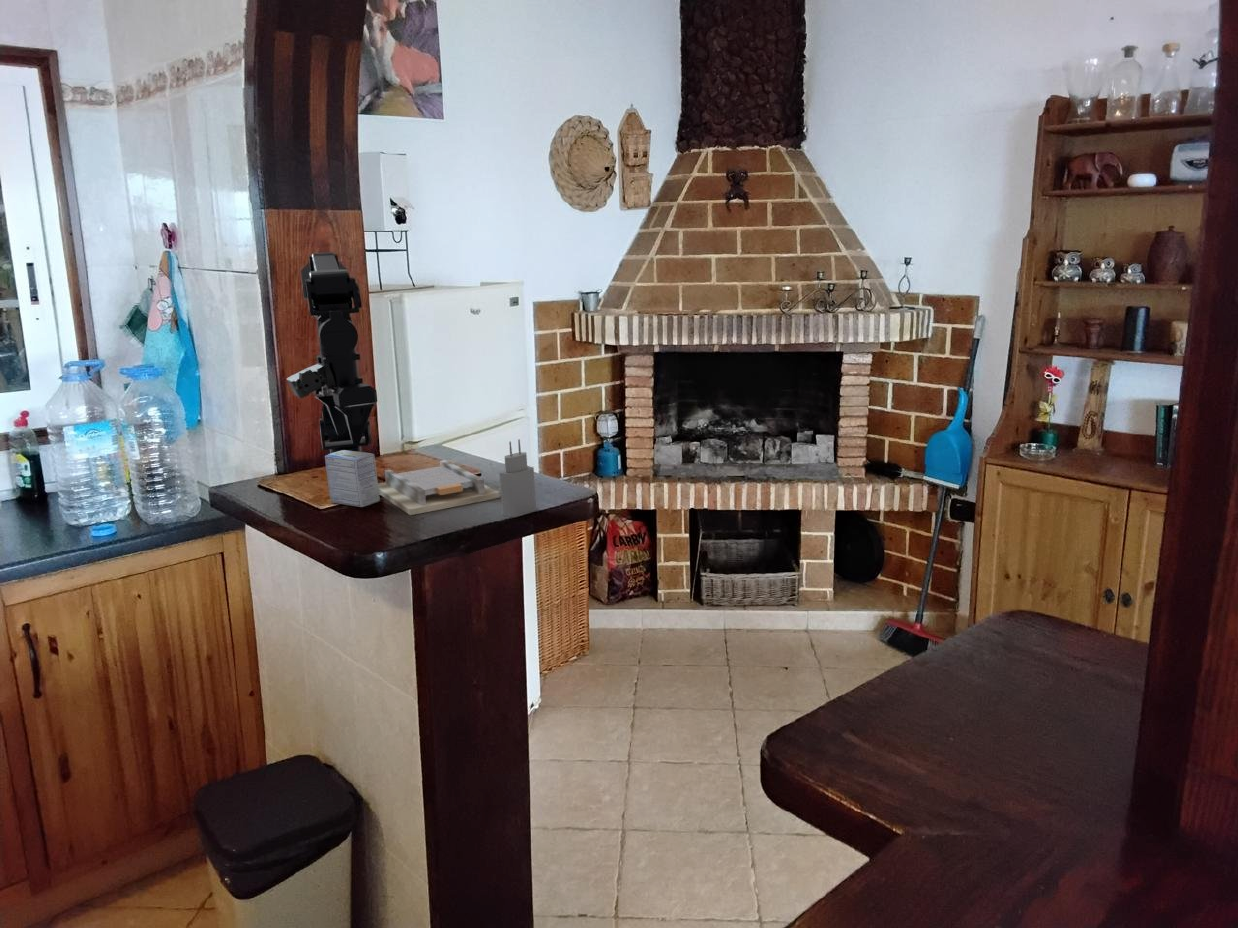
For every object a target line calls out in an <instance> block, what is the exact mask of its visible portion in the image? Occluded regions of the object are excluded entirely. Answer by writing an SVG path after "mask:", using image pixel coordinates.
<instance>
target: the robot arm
mask: <svg viewBox="0 0 1238 928" xmlns="http://www.w3.org/2000/svg"><path fill="white" fill-rule="evenodd" d="M338 257H339V256H338V253H335V252H313V253H312V254H308V261H309V262H308V263H307V264H305V265H304V266H303V268H301V269H300V279H301V289H302V296H303V300H307V306H308V311H309V316H310V317H314V319H316V328H317V336H318V337H317V338H318V343H319V344H318V346H319V352H320V354H317V356H316V357H315V360H316V364H314V365H311V366H310V367H307V368H304V369H302V370H300V371H298V372H296V373H294V374H292V375H290V376H289V377H287V378H286V381H287V383H288V384H289V386H290V389H291V390H292V392H293V394H294V396H295V397H298V399H304V398H306V397H309V395H310V394H314V398H315V399H317V400H319V401H320V402H321V403H323V404H322V407H321V415H322V418H319V419H318V423H319V430H320V440H321V441H320V442H321V446H322V447H321V448H322V451H324V452H325V451H329V454H331V453H334V452H338V451H342V450H348V451H357V452H362V447H368V446H369V445H370V444H371V445H372V439H371V437H372V436H371V422H370V420H369V418H370V415H371V414H372V410H373V408H374V407H376V406H375V405H376V403H378V393H377V391H378V390H377V389H375V388H374V387H373V386H372V385H369V384H367V383H364V382H363V381H364V380H363V377H362V376H361V377H360V376H359V366H358V361H360V360H361V353H359V352H357V348H356V346H357V344H358V341H359V334H358V331H357V328H356V326H355V325H354V321H353V320H354V319H353V318H352V317H351V314H360V309H362V307H363V306H362V305H363V304H362V297H361V293H360V286H359V283H358V282H357V281H356V278H355V277H354V276H350V272H349V271H348V269H347V267H346V266H344V265H343V264H342V263H340V261H339V259H338Z"/></svg>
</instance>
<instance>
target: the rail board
mask: <svg viewBox="0 0 1238 928" xmlns="http://www.w3.org/2000/svg"><path fill="white" fill-rule="evenodd" d="M439 463H440V464H439V466H444V467H446V468H448V469H450V470H452V471H454V472H456V473H458V474H460V475H462V476H464V477H466V478H468V479H470V480H472V482H473V487H468V488H463V491H460V492H455V493H450V494H444V495H439V494H438V493H436V494H430V495H425V490H424V489H422V488H420V487H419V486H417V485H415V484H414V483H412V482H410V481H409V480H407V479H405V478H404V477H402V476H400V475H399V474H398V473H397V472H395V471H393V470H392V469H385V470H384V478H385V481H384V482H378V489H379V496H381V497H383V498H384V499H386V500H387V501H389V502H390V503H391V504H393V505H394V506H396V507H398V508H399V509H400V510H402V511H403V512H404V513H406V514H408V515H409V516H413V515H414V516H415V515H419V514H423V513H424V514H425V513H428V512H433V511H440V510H445V509H448V508H453V507H460V506H464V505H469V504H475V503H480V502H484V501H491V500H495V499H501V496H500V491H498V490H496V489H494V488H491V487H490V486H488V485H486V484H485V479H484V478H482V477H480V476H479V475H476V474H474V473H472V472H471V471H468V470H467V469H464V468H463V467H460V466H458V465H456V464H454V463H452V462H451V461H448V460H445V459H444V460H440V461H439Z"/></svg>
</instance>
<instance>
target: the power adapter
mask: <svg viewBox="0 0 1238 928" xmlns="http://www.w3.org/2000/svg"><path fill="white" fill-rule="evenodd" d="M517 442H518V443H517V444H518V452H515V453H513V451H512V450H513V448H512V442H511V441H509V442H508V443H509V454H507V455H504V466H505V468H504V469H503V470H500V471H499V484H500V499H501V510H502V511H501V514H502V516H505V517H507V518H508V517H509V518H518V517H520V516H523V515H526V514H530V513H533V512H536V511H537V498H536V486H535V484H536V483H535V469H534V468H535V467H534V466H531V465H530V466H529V465H528V458H527V457H528V456H527V452H526V451H525V452H524V451H521V439H517Z"/></svg>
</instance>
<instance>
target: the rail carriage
mask: <svg viewBox="0 0 1238 928" xmlns="http://www.w3.org/2000/svg"><path fill="white" fill-rule="evenodd" d="M397 474H399V475H400V476H402V477H404V478H405V479H407V480H409V481H410V482H412V483H414V484H415V485H417V486H419V487H420V488H422V489H424V490H425V495H430V494H436V493H438V494H439V495H444V494H450V493H455V492H460V491H463V488H468V487H473V482H472V480H470V479H468V478H466V477H464V476H462V475H460V474H458V473H456V472H454V471H452V470H450V469H448V468H446V467H444V466H440V465H439V466H434V467H433V466H432V467H427V468H423V469H422V468H421V469H417V470H416V469H415V470H411V471H409V470H408V471H405V472H399V473H397Z"/></svg>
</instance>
